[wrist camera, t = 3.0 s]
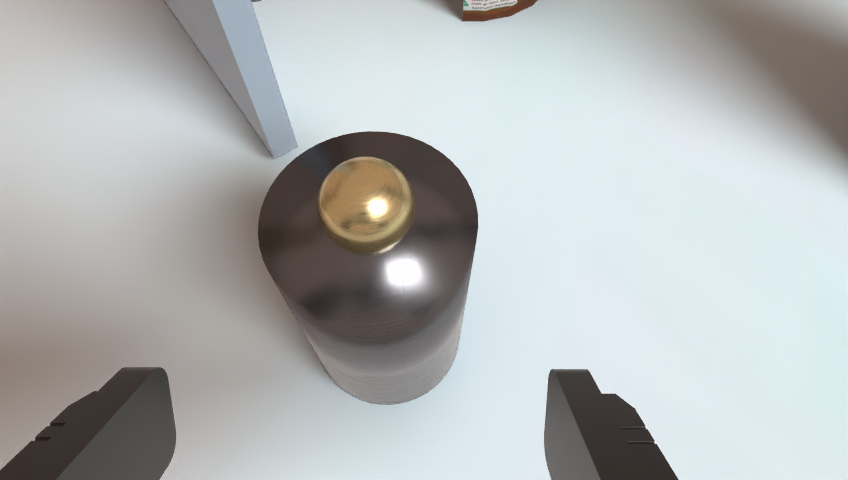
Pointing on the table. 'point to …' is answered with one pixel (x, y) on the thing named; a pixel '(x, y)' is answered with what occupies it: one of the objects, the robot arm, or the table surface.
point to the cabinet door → (239, 63)
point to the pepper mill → (374, 259)
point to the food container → (493, 9)
